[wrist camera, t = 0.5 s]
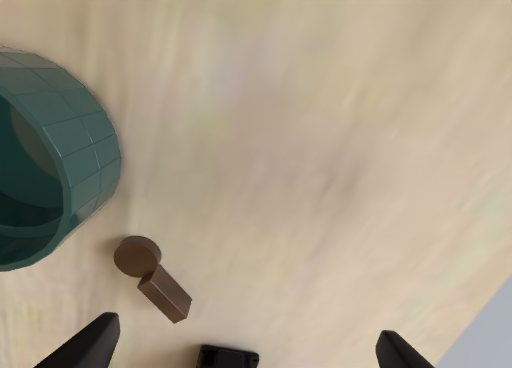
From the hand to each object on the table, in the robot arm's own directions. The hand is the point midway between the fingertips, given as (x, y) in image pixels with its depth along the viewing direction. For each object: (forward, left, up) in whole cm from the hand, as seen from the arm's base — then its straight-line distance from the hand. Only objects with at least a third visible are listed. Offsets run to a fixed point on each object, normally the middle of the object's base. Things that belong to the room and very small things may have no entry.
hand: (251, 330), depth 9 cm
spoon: (-11, +6, -13) cm, 19 cm away
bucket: (-1, +17, -13) cm, 21 cm away
